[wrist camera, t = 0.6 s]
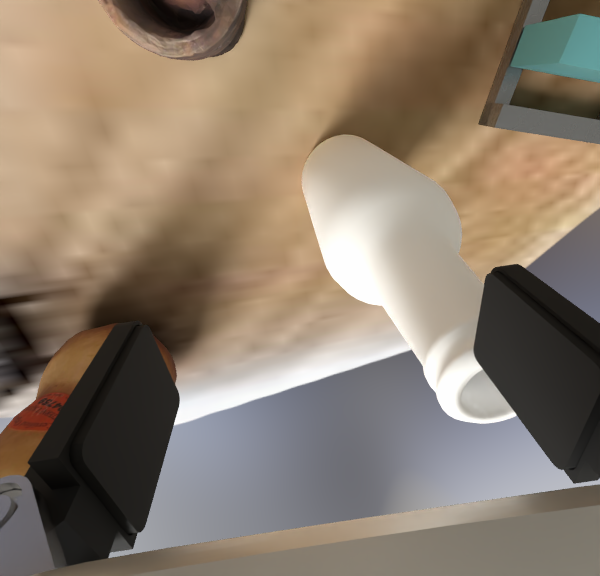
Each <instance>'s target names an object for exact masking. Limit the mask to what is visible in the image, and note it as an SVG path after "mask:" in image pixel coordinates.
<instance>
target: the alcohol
mask: <svg viewBox="0 0 600 576" xmlns="http://www.w3.org/2000/svg"><path fill="white" fill-rule="evenodd" d="M302 189H303V193H304V196H305V200H306V203H307V206H308V209H309V213H310V216H311V219H312V223H313V226H314V229H315V232H316V236H317V239H318V242H319V246H320V249H321V252H322V255H323V259H324V261H325V264H326V267H327V269H328V271H329V272H330V274H331V276H332V277H333V278H334V279H335V280H336V281H337V282H338V283H339V284H340V285H341V286H342V287H343V288H344V289H345V290H346V291H347V292H348V293H349V294H350V295H352V296H353V297H355V298H356V299H358V300H361V301H363V302H366V303H369V304H374V305H382V306H383V307H384V309H385V310H386V312H387V313H388V315H389V316H390V318H391V319H392V321H393V322H394V324H395V325H396V327H397V328H398V330H399V331H400V332H401V334H402V335H403V337H404V338H405V340H406V341H407V343H408V344H409V346H410V347H411V349H412V350H413V352H414V353H415V354H416V356H417V358H418V359H419V361H420V362H421V364H422V365H423V370H424V375H425V377H426V379H427V381H428V383H429V385H430V386H431V388H432V389H433V390H434V391H435V392H436V394H437V399H438V401H439V403H440V405H441V407H442V409H443V410H444V411H445V412H446V413H447V414H448V415H450V416H451V417H453V418H455V419H458V420H461V421H466V422H474V423H493V422H499V421H502V420H506V419H509V418H512V417H514V416H517V415H516V413H515V412H514V411H513V409H512V408H511V407H510V405H509V404H508V402H507V401H506V400H505V398H504V397H503V396H502V394H501V393H500V392H499V390H498V389H497V388H496V386H495V385H494V384H493V382H492V381H491V380H490V378H489V377H488V375H487V374H486V373H485V371H484V370H483V369H482V367H481V366H480V365H479V363H478V362H477V360H476V359H475V356H474V352H473V347H474V341H475V335H476V329H477V324H478V318H479V312H480V306H481V300H482V295H483V289H484V284H483V283H482V281H481V280H480V279H479V278H478V277H477V276H476V274H475V273H474V272H473V271H472V270H471V268H470V267H469V266H468V265H467V264H466V262H465V261H464V260H463V259H462V258H461V257H460V255H459V254H458V253H459V250H460V247H461V240H462V228H461V221H460V218H459V216H458V213H457V210H456V209H455V207H454V205H453V203H452V201H451V199H450V198H449V196H448V195H447V193H446V192H445V190H444V189H443V188H442V187H441V186H440V185H438V184H437V183H436V182H435V181H434V180H432V179H430V178H429V177H427V176H425V175H424V174H422V173H420V172H419V171H417V170H415V169H414V168H412V167H410V166H409V165H407V164H405V163H404V162H402V161H400V160H399V159H397V158H395V157H394V156H392V155H390V154H389V153H387V152H385V151H384V150H382V149H380V148H379V147H377V146H375V145H374V144H372V143H370V142H369V141H367V140H365V139H363V138H362V137H358V136H355V135H345V134H344V135H338V136H334V137H331V138H329V139H327V140H325V141H323V142H322V143H320V144H319V145H318V146H317V147H316V148H315V149H314V150H313V151H312V152H311V154H310V155H309V157H308V158H307V160H306V163H305V165H304V168H303V172H302Z"/></svg>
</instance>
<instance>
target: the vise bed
mask: <svg viewBox="0 0 600 576" xmlns="http://www.w3.org/2000/svg"><path fill="white" fill-rule="evenodd" d="M549 1H550V0H523V2H522V4H521V7H520V10H519V13H518V15H517V18H516V21H515V24H514V27H513V29H512V32H511V35H510V38H509V40H508V43H507V46H506V49H505V52H504V54H503V57H502V60H501V63H500V65H499V68H498V71H497V74H496V76H495V79H494V82H493V85H492V88H491V90H490V93H489V96H488V99H487V101H486V104H485V107H484V110H483V113H482V115H481V118H480V121H479V124H480V125H485V126H490V127H494V128H501V129H507V130H514V131H520V132H526V133H533V134H539V135H545V136H552V137H558V138H564V139H571V140H577V141H583V142H590V143H596V144H600V113H599V115H598V117H597V119H590V118H584V117H578V116H572V115H566V114H560V113H554V112H548V111H542V110H536V109H531V108H525V107H519V106H513V105H509V103H510V101H511V98H512V96H513V93H514V91H515V88H516V86H517V83H518V80H519V78H520V75H521V73H522V70H523V69H522V68H517V67H511V66H510V65H511V63H512V60H513V57H514V55H515V52H516V49H517V47H518V44H519V41H520V39H521V36H522V33H523V30H524V28H525V26H526V25H531V24H535V23H540V22H542V19H543V16H544V14H545V11H546V9H547V6H548V4H549Z"/></svg>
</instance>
